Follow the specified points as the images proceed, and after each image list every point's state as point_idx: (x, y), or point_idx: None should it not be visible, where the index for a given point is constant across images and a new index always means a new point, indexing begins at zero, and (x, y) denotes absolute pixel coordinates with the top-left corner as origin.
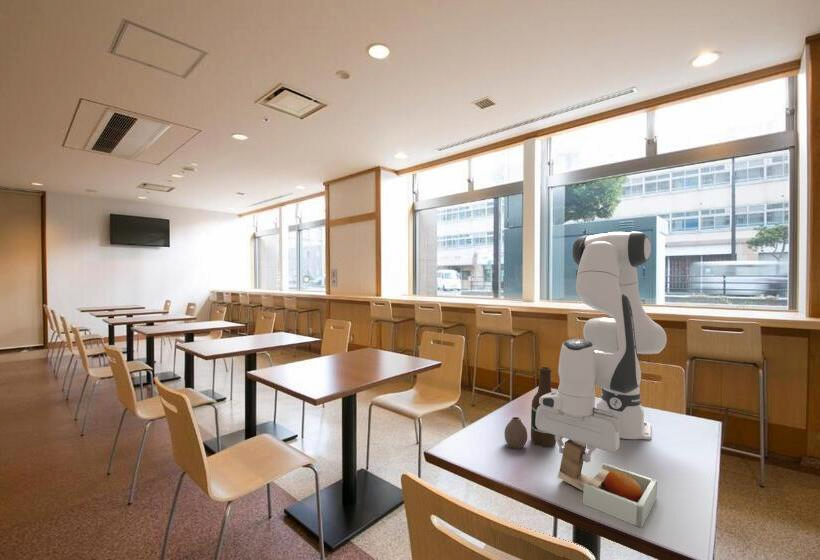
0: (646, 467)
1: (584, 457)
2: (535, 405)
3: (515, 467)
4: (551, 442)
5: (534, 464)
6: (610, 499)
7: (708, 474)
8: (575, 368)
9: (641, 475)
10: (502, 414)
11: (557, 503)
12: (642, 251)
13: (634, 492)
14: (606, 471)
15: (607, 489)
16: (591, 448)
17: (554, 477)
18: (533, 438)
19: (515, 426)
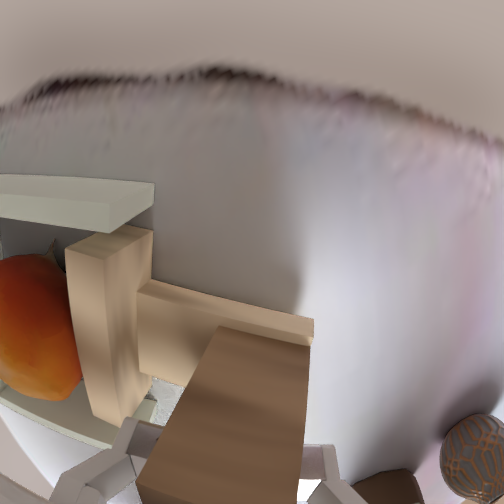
0: None
1: (141, 440)
2: None
3: (482, 309)
4: (358, 493)
5: (415, 378)
6: (11, 188)
7: (40, 469)
8: None
9: (24, 415)
10: (462, 497)
11: (264, 102)
12: None
13: None
14: (105, 415)
15: (47, 281)
16: (64, 489)
17: (330, 338)
18: (413, 480)
19: (498, 473)
